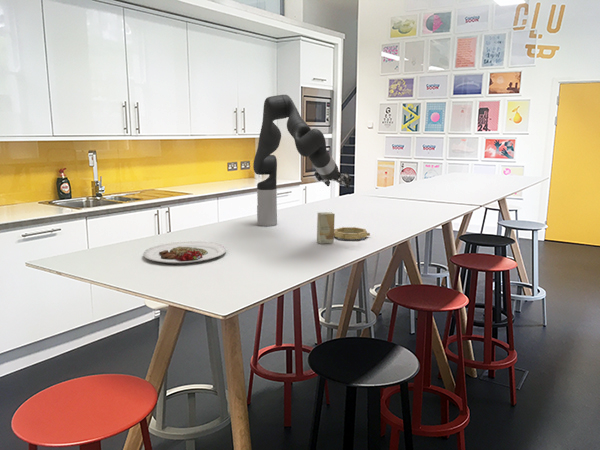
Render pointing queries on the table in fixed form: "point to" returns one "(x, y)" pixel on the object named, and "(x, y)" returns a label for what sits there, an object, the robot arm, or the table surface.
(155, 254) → the plated food
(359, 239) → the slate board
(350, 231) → the brass collar
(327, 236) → the skincare box
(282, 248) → the table surface
